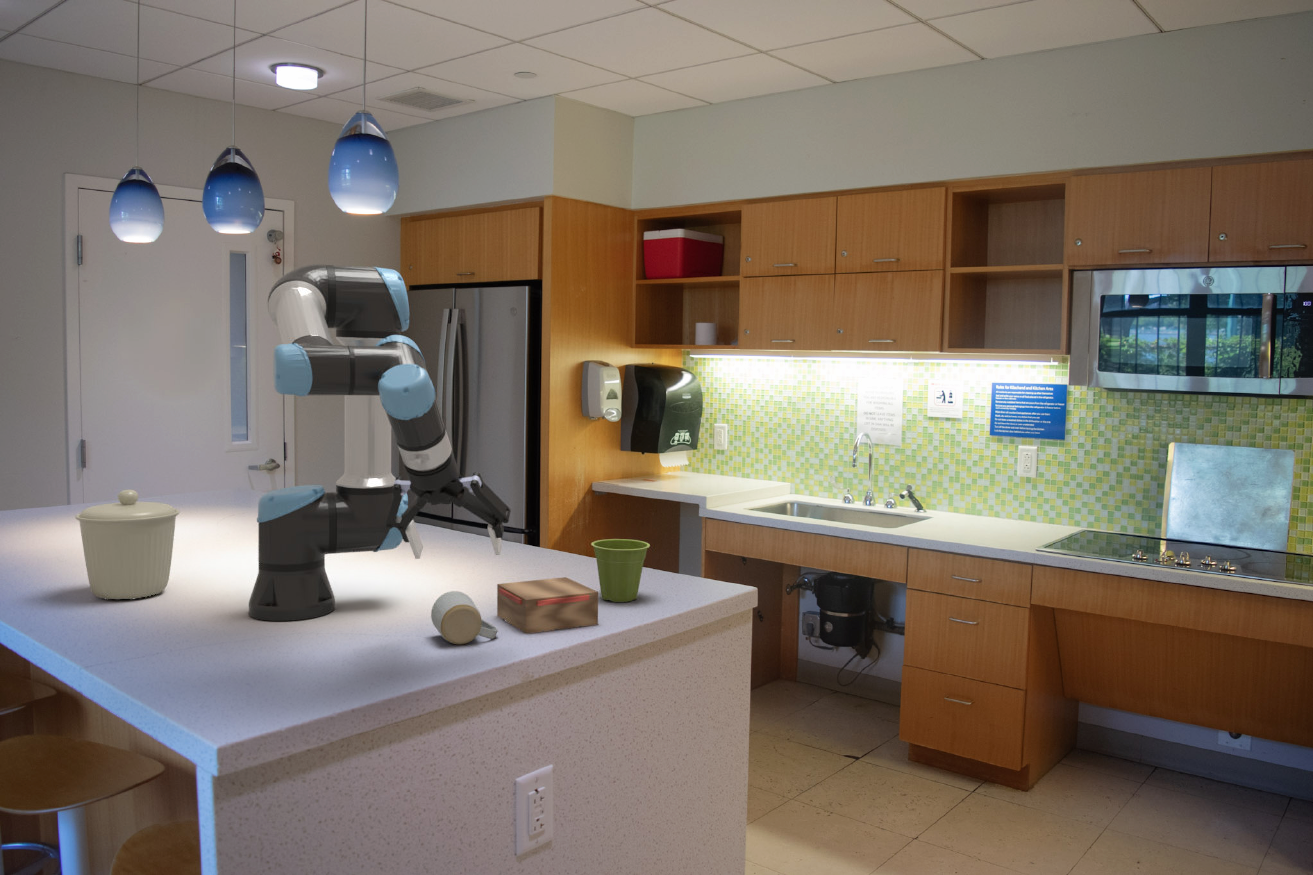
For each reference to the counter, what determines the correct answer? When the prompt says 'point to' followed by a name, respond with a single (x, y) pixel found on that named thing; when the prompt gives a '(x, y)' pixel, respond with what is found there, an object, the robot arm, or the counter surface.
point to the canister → (128, 546)
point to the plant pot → (619, 567)
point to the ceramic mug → (459, 619)
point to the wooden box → (547, 604)
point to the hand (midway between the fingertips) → (459, 551)
